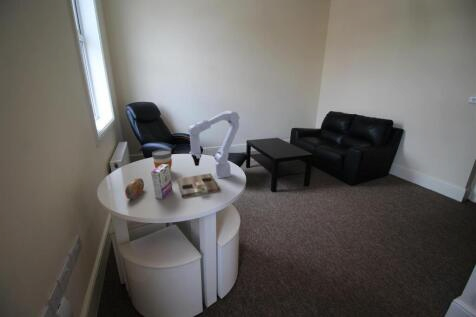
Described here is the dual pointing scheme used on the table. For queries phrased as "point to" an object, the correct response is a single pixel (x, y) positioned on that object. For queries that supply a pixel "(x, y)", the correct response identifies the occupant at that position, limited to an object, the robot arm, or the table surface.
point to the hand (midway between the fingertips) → (196, 165)
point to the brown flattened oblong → (134, 188)
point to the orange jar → (162, 158)
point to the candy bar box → (162, 181)
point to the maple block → (200, 186)
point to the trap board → (189, 185)
